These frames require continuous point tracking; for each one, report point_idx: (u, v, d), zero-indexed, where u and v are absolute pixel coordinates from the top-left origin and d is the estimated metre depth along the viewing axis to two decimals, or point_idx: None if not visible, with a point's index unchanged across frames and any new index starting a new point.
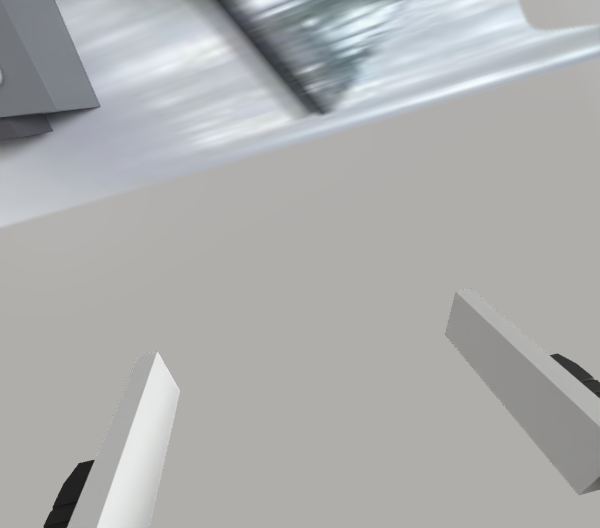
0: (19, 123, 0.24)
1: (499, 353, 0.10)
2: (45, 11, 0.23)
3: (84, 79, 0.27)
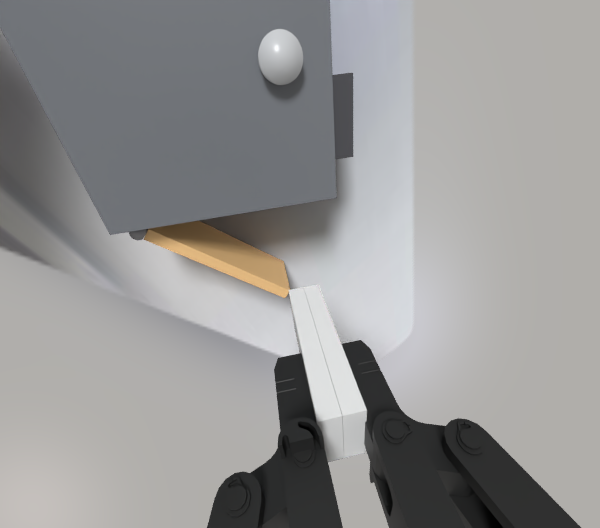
0: None
1: None
2: None
3: None
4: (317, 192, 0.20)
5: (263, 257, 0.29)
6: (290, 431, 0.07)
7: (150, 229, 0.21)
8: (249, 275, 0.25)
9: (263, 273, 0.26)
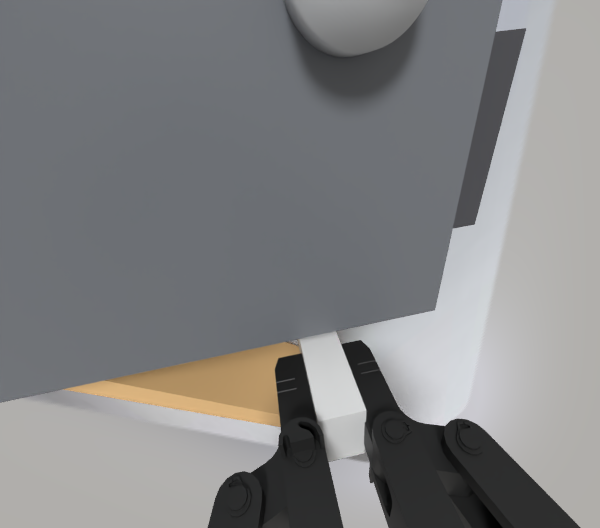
0: None
1: None
2: None
3: None
4: (398, 304, 0.09)
5: (270, 351, 0.18)
6: (291, 431, 0.07)
7: None
8: (248, 411, 0.14)
9: (272, 397, 0.15)
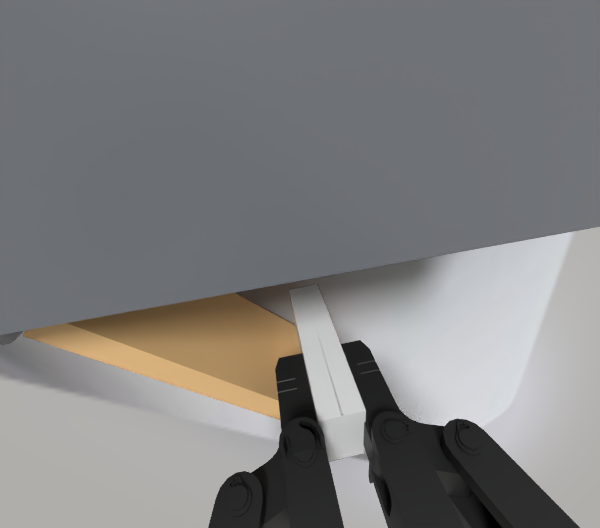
0: None
1: None
2: None
3: None
4: (564, 209, 0.06)
5: None
6: (291, 431, 0.07)
7: None
8: None
9: None
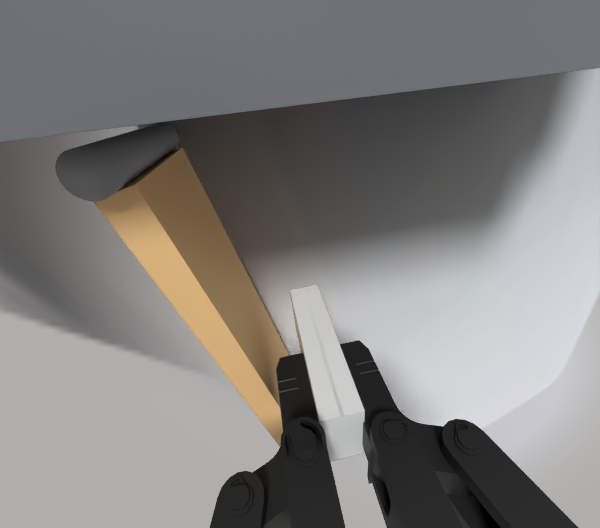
0: None
1: None
2: None
3: None
4: None
5: (276, 343, 0.15)
6: (293, 430, 0.07)
7: (139, 189, 0.06)
8: (267, 399, 0.11)
9: None
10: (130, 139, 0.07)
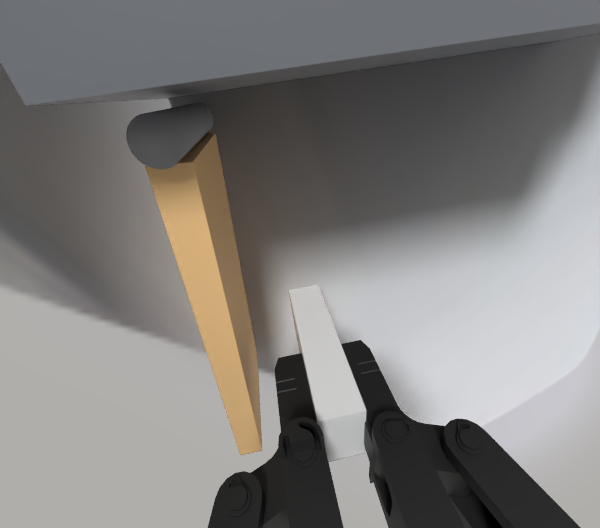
0: None
1: None
2: None
3: None
4: None
5: (252, 343, 0.15)
6: (290, 431, 0.07)
7: (194, 167, 0.06)
8: (243, 398, 0.11)
9: (253, 396, 0.12)
10: (189, 115, 0.07)
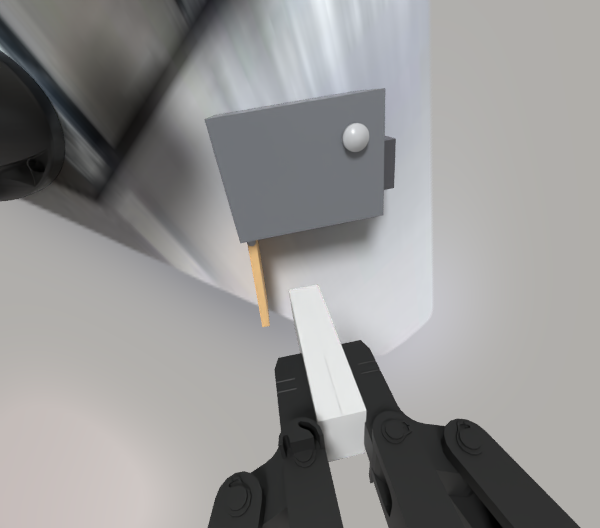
0: None
1: None
2: (298, 101, 0.29)
3: (338, 94, 0.30)
4: (370, 212, 0.30)
5: None
6: (291, 431, 0.07)
7: (256, 244, 0.32)
8: (264, 302, 0.37)
9: None
10: None
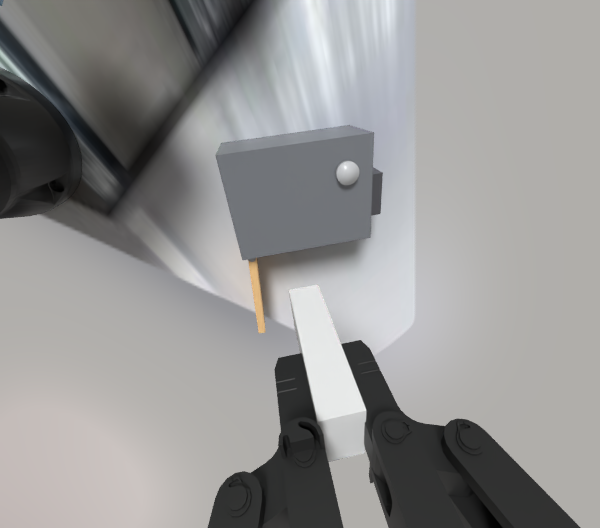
0: None
1: None
2: (297, 135, 0.32)
3: (332, 128, 0.34)
4: (359, 234, 0.34)
5: (262, 301, 0.45)
6: (291, 431, 0.07)
7: (256, 260, 0.36)
8: (261, 311, 0.40)
9: (263, 314, 0.42)
10: None
